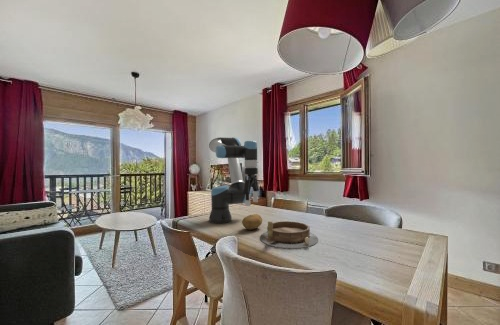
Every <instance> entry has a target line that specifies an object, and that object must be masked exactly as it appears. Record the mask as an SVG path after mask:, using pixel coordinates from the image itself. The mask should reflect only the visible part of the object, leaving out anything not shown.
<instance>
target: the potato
mask: <svg viewBox="0 0 500 325" xmlns="http://www.w3.org/2000/svg"><path fill="white" fill-rule="evenodd" d="M241 224H242V226H243V228H244V229H247V230H249V231H250V230H251V231H253V230H255V229H258V228H259V227H260V226H261V225H262V224H263V218H262V216H261V215H260V214H258V213H254V214H250V215H247V216H245V217H243V219H242V221H241Z"/></svg>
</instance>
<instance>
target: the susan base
mask: <svg viewBox="0 0 500 325" xmlns="http://www.w3.org/2000/svg"><path fill="white" fill-rule="evenodd" d="M267 237H268V232H267V231H265V232H263V233H261V234H260V237H259V240H260V241H261V242H262V243H263V244H265V245H268V246H271V247H275V248H278V249H279V248H280V249H292V250H293V249H295V250H296V249H304V248H308V247H312V246H314V245H316V244H317V243H318V242H319V237H318V236H317V235H316V234H314V233H311V232H310V237H309V238H308V237H305V241H301V242H281V241H274V242H271V243H269V242H266V238H267Z"/></svg>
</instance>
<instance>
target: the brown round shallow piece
mask: <svg viewBox="0 0 500 325" xmlns="http://www.w3.org/2000/svg"><path fill="white" fill-rule="evenodd" d="M266 228H267V229H266V230H267V231H266V232H268V237H267V238H266V242H269V243H271V242H274V241H281V242H301V241H305V237H308V238H309V237H310V233H311V232H310V231H311V230H310V226H309V225H308V224H306V223H304V222H299V221H289V220H287V221H284V220H283V221H276V222H273V221H272V220H270V221H267V227H266Z"/></svg>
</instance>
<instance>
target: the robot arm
mask: <svg viewBox="0 0 500 325" xmlns="http://www.w3.org/2000/svg"><path fill="white" fill-rule="evenodd" d="M243 144H244V145H242V143H241V140H240V138H238V137H215V138H213V139H211V140H210V142H209V144H208V147H209V150H210V151H211V152H213V153H215V156H216V159H227V163H228V170H229V178H230V181H231V182H230V185H228V184H225V185H219V186H214V187H212V188H211V191H210V192H211V193H210V197H211V200H210V201H211V211H210V214H209V217H208V222H209V223H211V224H226V223H229V222H232V219H233V218H232V214H231V211H230V205H241V204H243V205H244V204H245V207H251V189H252V190H253V191H252V202H253V203H258V202H259V200H258V199H259V198H258V194H259V193H258V192H259V191H260V189H259V183H258V172H259V171H258V168H257V167H258V163H259V161H258V142H257V141H256V140H245V141H244V143H243ZM240 159H244V174H245V175H247V176H245V178H244V177H243V173H242V172H243V171H242V166H241V163H240V162H241V161H240ZM244 179H245V180H244Z"/></svg>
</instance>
